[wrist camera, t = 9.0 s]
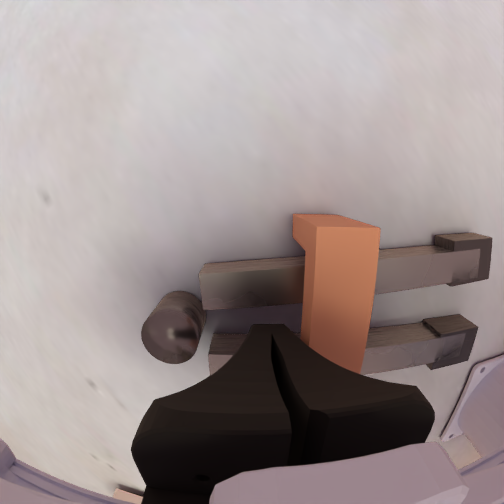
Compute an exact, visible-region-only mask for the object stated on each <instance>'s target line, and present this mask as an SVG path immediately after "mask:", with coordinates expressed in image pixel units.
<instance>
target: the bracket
mask: <svg viewBox="0 0 504 504" xmlns="http://www.w3.org/2000/svg"><path fill="white" fill-rule="evenodd" d="M113 498H116V499H119V500H123V501H127V502H131V503H135V504H141V502H142V499H143V497H142V496H138V495H135V494H132V493H129V492H126V491H123V490H120V489H117V488H116V490H115V493H114V495H113Z"/></svg>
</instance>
